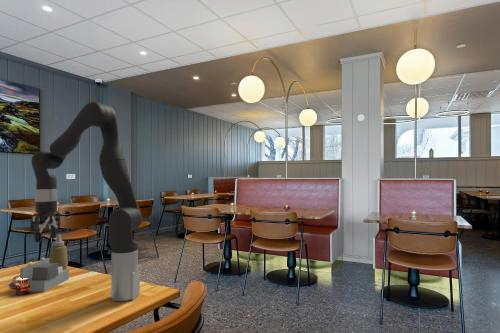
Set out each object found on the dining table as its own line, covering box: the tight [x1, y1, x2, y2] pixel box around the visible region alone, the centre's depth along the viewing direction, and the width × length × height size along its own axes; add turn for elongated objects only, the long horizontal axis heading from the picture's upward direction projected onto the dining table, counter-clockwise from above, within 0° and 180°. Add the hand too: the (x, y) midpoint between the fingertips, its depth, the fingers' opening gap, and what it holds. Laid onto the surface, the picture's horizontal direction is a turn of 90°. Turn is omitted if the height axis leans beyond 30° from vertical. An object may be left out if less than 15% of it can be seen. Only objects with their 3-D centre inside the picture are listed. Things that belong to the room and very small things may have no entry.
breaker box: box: [19, 257, 70, 293], centre depth 130 cm, size 10×15×10 cm
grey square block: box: [32, 263, 58, 280], centre depth 127 cm, size 7×7×5 cm
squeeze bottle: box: [48, 233, 69, 270], centre depth 147 cm, size 8×8×18 cm
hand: (46, 239), depth 128 cm, fingers open, 8 cm apart
